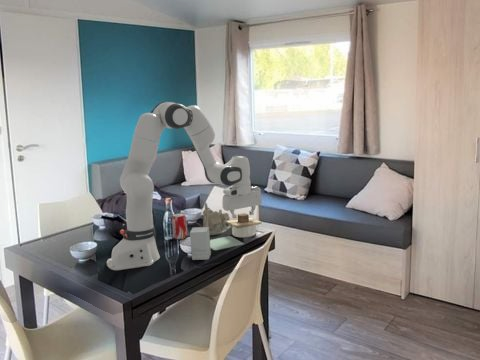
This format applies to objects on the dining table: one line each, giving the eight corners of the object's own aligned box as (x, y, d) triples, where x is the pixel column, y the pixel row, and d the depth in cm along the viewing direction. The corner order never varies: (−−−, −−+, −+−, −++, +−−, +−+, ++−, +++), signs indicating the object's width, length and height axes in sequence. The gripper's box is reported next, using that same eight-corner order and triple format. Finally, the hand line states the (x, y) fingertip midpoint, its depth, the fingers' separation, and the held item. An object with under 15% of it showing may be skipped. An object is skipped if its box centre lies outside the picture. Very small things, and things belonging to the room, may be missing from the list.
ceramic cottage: (205, 236, 232) (205, 206, 230) (199, 228, 247) (199, 200, 245) (236, 234, 236) (236, 205, 234) (228, 227, 252) (228, 199, 249)
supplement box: (211, 254, 207) (209, 226, 204) (208, 260, 200) (206, 231, 197) (194, 254, 208) (192, 227, 205) (191, 260, 200) (189, 232, 198)
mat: (215, 251, 210) (215, 250, 210) (201, 242, 223) (201, 241, 223) (244, 244, 217) (244, 243, 217) (230, 236, 230) (230, 235, 230)
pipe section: (239, 239, 224) (238, 227, 223) (228, 233, 234) (227, 222, 233) (260, 235, 229) (259, 223, 228) (248, 229, 239) (248, 218, 238)
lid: (225, 222, 233) (225, 213, 232) (248, 217, 239) (248, 209, 238) (237, 228, 222) (237, 219, 221) (261, 223, 228) (261, 215, 227)
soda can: (185, 240, 227) (183, 216, 225) (171, 240, 229) (169, 216, 227) (189, 236, 234) (187, 212, 232) (176, 235, 236) (174, 212, 233)
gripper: (257, 184, 235) (258, 211, 237) (220, 190, 226) (221, 218, 228) (263, 186, 229) (264, 214, 232) (225, 193, 220) (227, 221, 223)
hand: (243, 216), depth 230 cm, fingers open, 8 cm apart
